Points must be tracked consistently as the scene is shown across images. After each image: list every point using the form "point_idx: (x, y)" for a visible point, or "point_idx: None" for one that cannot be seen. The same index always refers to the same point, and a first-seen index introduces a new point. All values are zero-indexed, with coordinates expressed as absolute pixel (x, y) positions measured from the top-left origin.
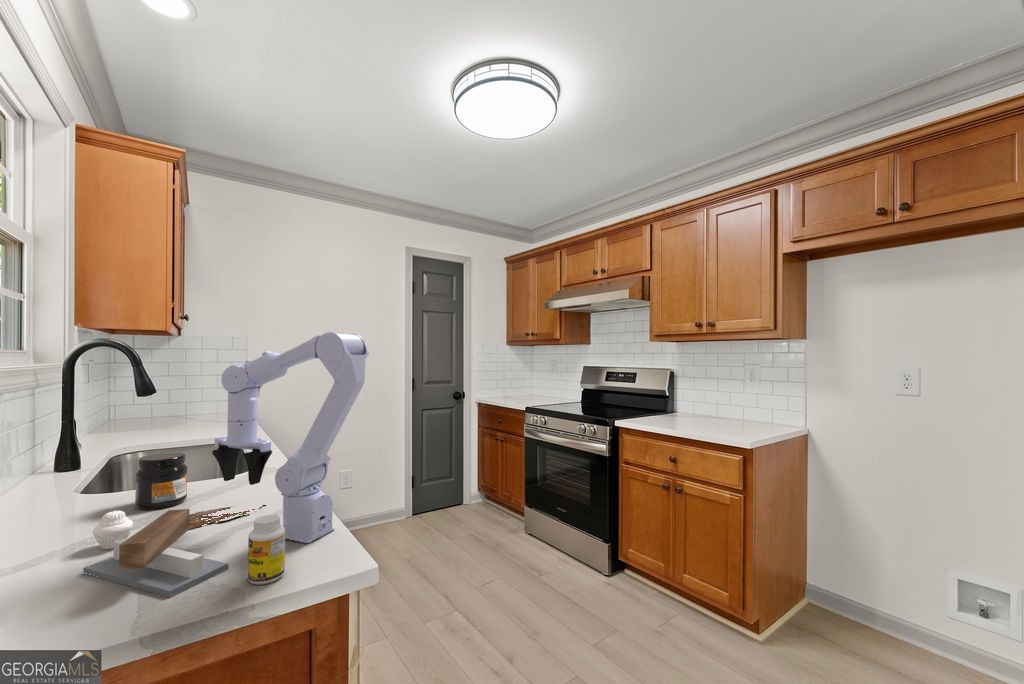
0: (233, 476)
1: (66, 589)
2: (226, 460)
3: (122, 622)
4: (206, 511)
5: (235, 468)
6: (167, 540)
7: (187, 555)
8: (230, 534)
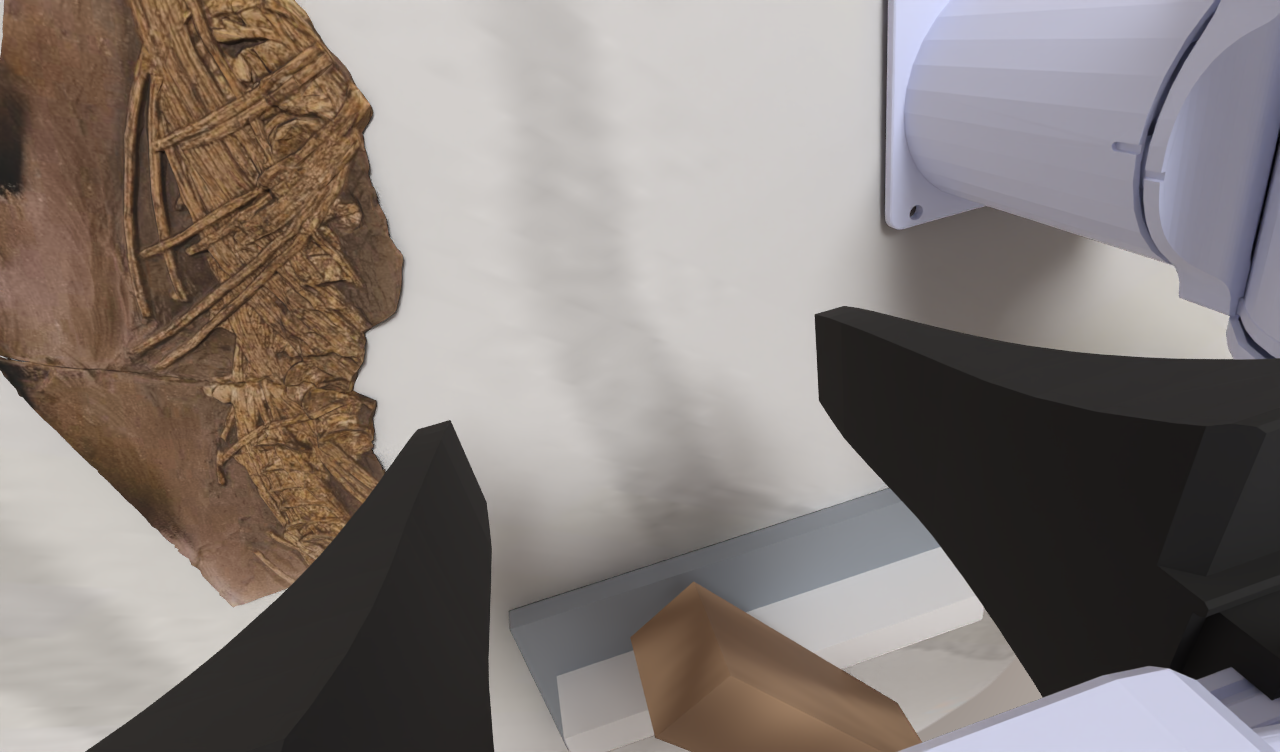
0: (453, 448)
1: (648, 747)
2: (470, 722)
3: (940, 669)
4: (17, 290)
5: (426, 485)
6: (830, 681)
7: (941, 622)
8: (640, 340)
